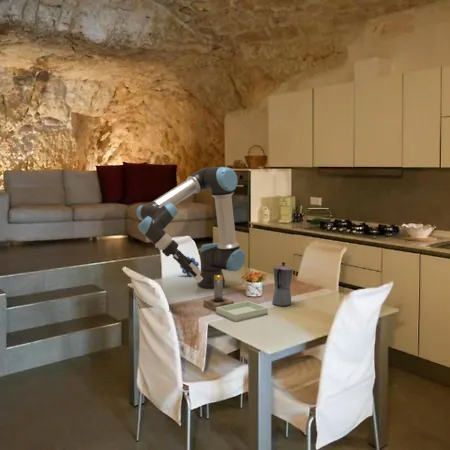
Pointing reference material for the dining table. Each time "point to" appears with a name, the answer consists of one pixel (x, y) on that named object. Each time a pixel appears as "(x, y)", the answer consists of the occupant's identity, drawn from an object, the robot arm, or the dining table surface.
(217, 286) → the grey bottle
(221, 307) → the tray
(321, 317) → the dining table surface
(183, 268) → the grapes
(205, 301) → the socket block
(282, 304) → the moka pot
